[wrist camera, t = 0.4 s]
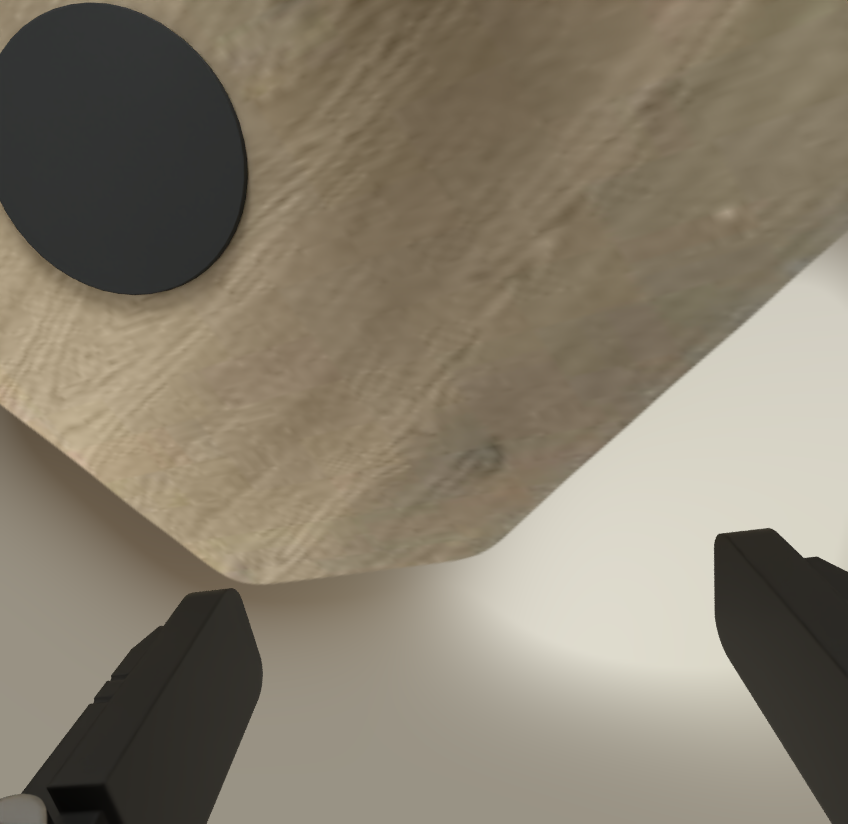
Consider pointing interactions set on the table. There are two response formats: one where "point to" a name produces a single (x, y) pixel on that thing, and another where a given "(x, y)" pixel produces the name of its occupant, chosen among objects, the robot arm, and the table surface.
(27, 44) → the mat
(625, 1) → the table surface
